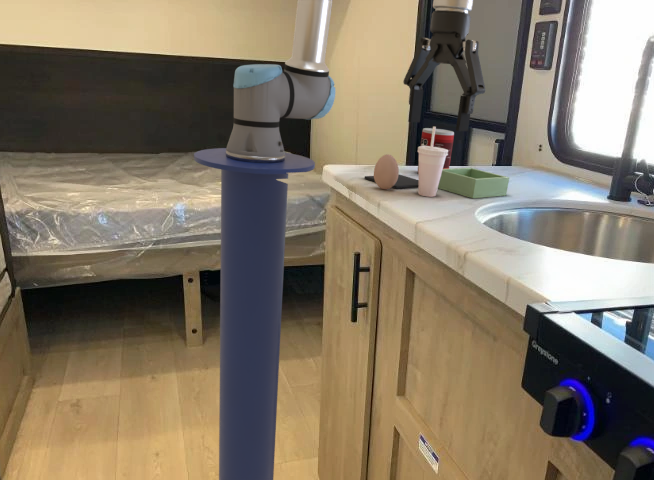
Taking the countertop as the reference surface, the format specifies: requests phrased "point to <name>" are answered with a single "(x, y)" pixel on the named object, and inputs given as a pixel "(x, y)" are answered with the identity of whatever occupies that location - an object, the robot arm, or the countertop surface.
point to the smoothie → (430, 167)
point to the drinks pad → (400, 182)
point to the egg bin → (473, 182)
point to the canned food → (439, 142)
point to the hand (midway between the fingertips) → (436, 126)
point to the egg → (386, 172)
